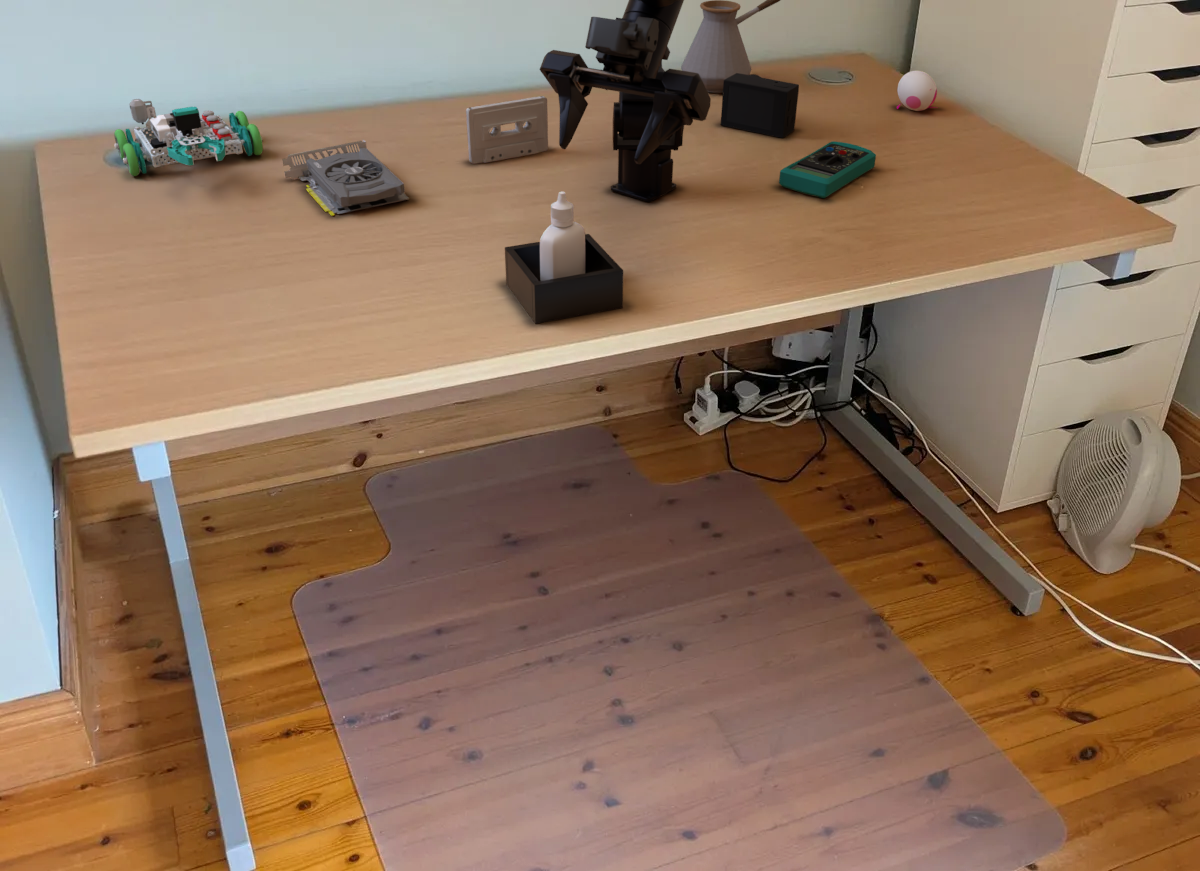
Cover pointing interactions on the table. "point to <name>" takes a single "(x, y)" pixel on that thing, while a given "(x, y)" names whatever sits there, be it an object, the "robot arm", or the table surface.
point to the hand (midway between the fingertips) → (598, 154)
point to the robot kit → (183, 137)
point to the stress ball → (917, 91)
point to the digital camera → (759, 104)
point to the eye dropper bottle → (562, 243)
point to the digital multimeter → (827, 169)
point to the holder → (564, 283)
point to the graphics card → (346, 179)
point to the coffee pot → (719, 44)
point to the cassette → (510, 141)
